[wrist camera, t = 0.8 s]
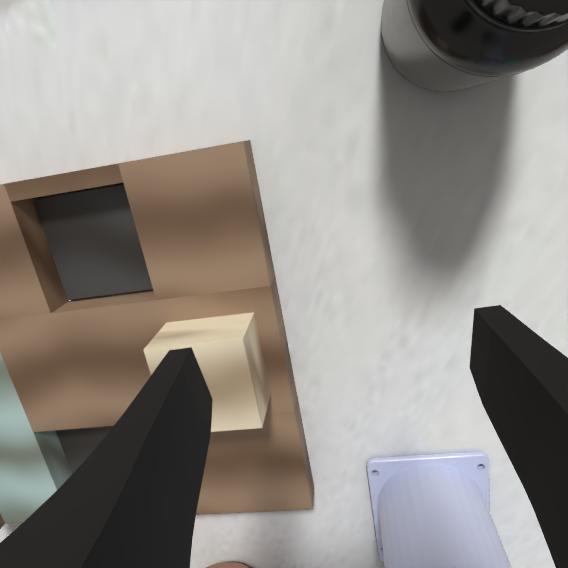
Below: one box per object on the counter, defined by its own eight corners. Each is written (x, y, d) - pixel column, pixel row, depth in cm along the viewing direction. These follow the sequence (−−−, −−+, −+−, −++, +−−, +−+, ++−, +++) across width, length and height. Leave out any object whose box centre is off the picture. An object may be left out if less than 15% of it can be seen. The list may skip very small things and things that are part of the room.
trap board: (314, 487, 33) (311, 540, 29) (5, 503, 37) (-38, 552, 33) (249, 140, 25) (232, 143, 21) (-132, 208, 29) (-211, 222, 25)
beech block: (270, 392, 28) (262, 427, 25) (187, 399, 29) (168, 434, 26) (254, 312, 26) (242, 338, 23) (166, 322, 27) (143, 349, 24)
